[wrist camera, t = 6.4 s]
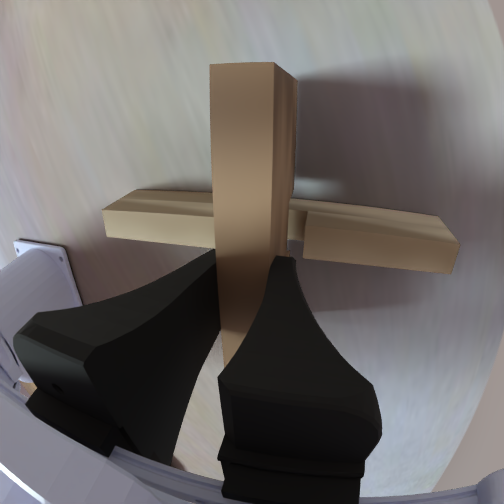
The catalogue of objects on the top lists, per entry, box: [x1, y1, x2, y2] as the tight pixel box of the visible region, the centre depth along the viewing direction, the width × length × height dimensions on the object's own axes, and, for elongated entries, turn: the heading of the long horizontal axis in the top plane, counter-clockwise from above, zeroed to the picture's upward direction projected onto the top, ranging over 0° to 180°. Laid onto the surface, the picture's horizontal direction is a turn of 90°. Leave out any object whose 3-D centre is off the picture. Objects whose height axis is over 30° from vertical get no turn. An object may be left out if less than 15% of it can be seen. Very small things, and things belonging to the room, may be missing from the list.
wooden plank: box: [210, 62, 297, 368], centre depth 13 cm, size 14×2×7 cm, turn 0°
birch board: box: [102, 190, 460, 274], centre depth 15 cm, size 2×18×4 cm, turn 90°
